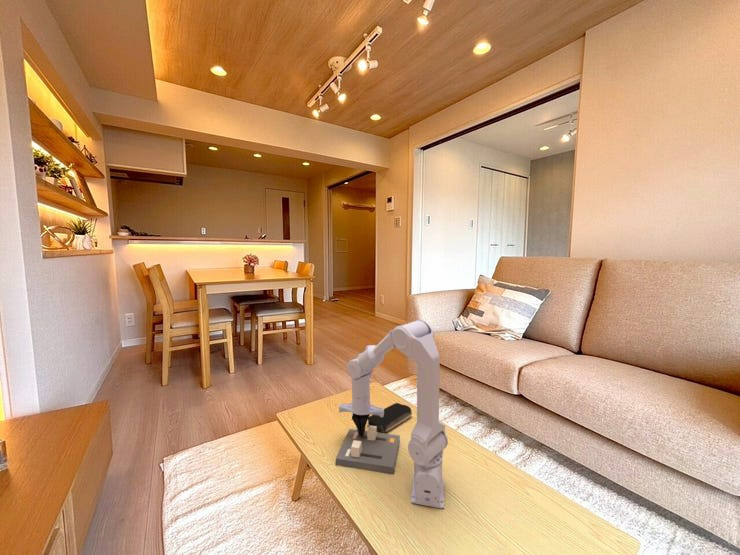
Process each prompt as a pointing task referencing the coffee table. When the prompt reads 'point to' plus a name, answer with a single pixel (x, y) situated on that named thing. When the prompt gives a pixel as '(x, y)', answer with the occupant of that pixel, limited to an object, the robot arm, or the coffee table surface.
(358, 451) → the block
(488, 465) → the coffee table surface
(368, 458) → the grey flat block
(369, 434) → the block
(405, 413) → the black sponge
